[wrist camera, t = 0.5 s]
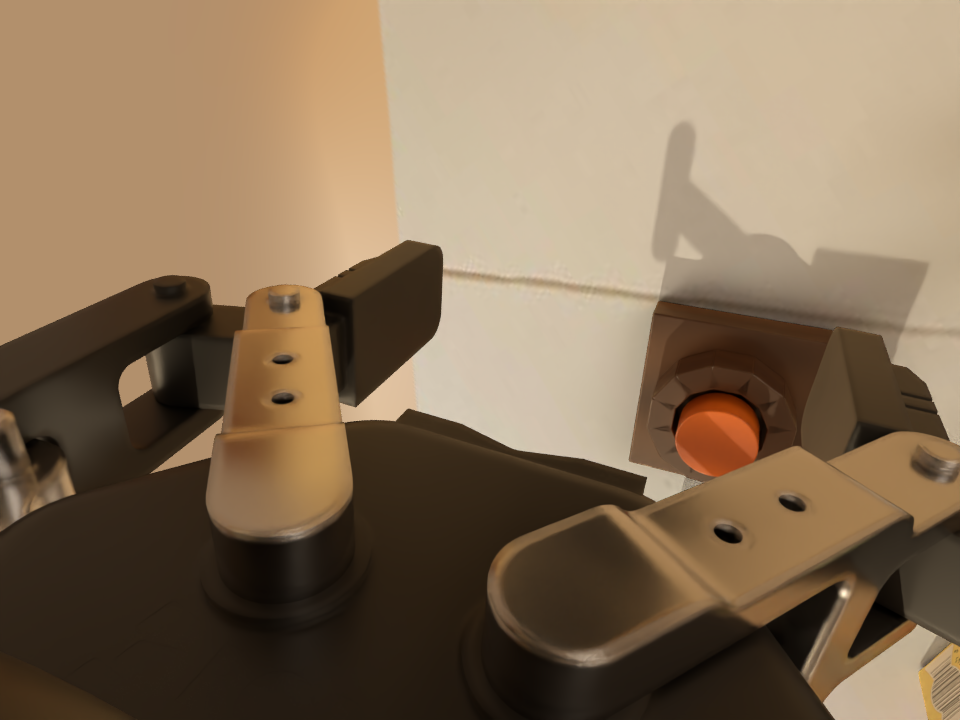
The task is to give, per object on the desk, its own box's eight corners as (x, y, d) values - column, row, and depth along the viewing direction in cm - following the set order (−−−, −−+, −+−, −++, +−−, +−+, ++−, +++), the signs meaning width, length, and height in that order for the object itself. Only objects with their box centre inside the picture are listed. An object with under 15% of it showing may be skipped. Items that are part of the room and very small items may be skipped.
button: (686, 384, 31) (681, 402, 29) (767, 401, 30) (766, 421, 28) (673, 446, 32) (668, 466, 31) (750, 464, 31) (748, 486, 30)
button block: (658, 299, 33) (646, 328, 30) (833, 329, 30) (838, 363, 27) (634, 445, 37) (621, 481, 34) (785, 481, 34) (785, 524, 32)
